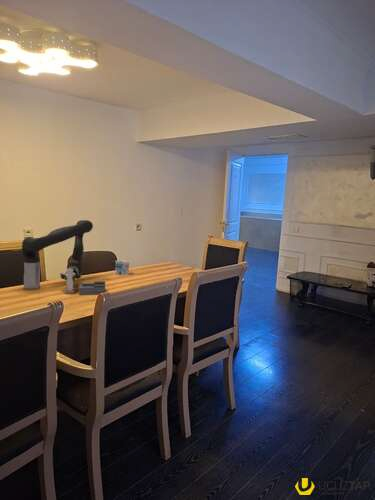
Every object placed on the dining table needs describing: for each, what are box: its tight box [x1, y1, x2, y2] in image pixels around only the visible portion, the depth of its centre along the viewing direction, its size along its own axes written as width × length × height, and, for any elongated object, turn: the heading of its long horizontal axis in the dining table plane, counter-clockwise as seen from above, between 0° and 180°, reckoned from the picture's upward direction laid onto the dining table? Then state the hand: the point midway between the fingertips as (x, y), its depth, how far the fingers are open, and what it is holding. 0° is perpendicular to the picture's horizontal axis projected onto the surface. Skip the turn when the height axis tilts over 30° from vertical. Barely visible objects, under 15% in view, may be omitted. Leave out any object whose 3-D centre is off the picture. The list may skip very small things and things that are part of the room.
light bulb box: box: [114, 259, 130, 276], centre depth 279 cm, size 11×7×11 cm, turn 105°
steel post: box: [64, 268, 76, 294], centre depth 220 cm, size 6×6×15 cm
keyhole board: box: [78, 280, 106, 296], centre depth 224 cm, size 16×12×6 cm
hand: (69, 278), depth 217 cm, fingers closed on steel post, 3 cm apart
